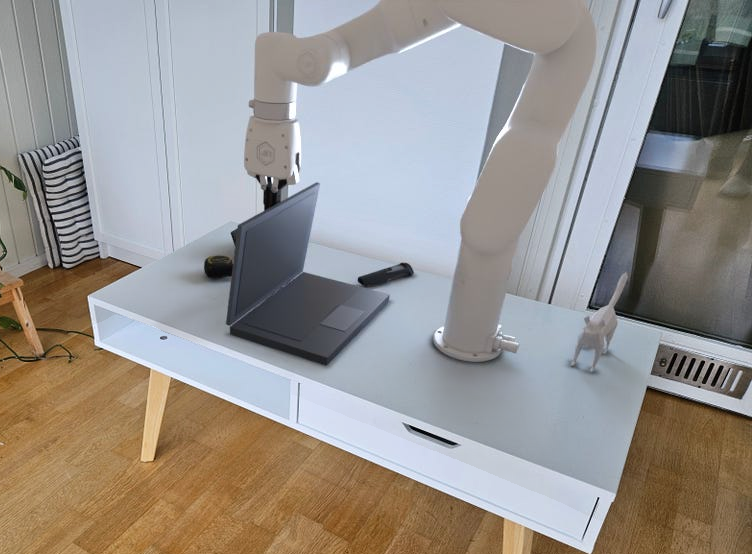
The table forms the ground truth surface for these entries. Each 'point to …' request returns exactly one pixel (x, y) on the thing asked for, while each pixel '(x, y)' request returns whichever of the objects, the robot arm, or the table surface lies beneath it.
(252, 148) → the robot arm
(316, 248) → the table surface
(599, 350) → the cat figurine
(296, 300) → the dark grey flat slab
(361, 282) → the electric trimmer
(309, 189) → the laptop screen
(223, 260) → the tape measure
